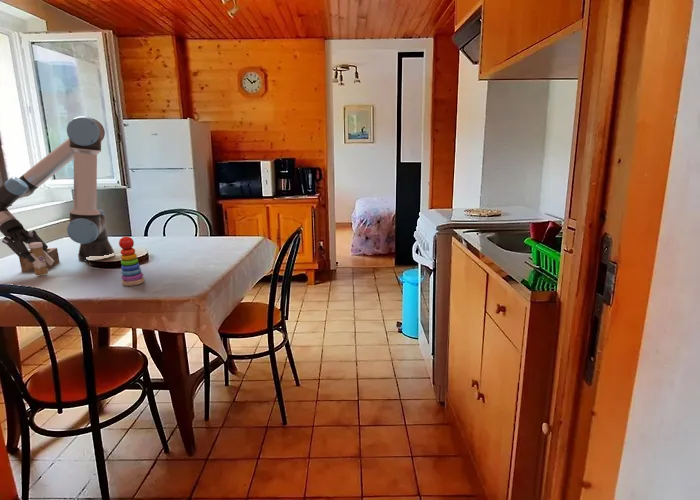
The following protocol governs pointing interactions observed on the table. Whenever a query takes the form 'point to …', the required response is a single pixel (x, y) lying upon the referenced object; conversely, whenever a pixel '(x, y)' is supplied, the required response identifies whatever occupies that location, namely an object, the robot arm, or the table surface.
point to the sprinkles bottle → (38, 252)
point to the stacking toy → (130, 263)
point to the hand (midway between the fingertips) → (46, 264)
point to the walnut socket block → (53, 252)
